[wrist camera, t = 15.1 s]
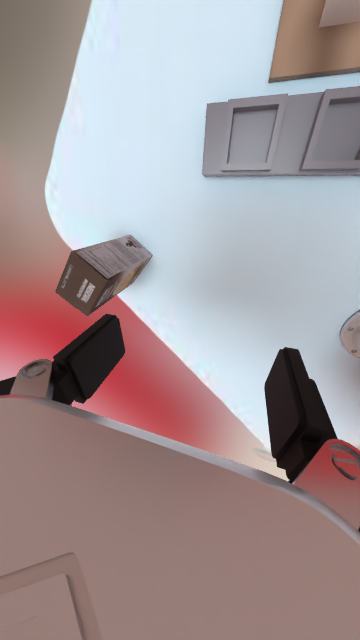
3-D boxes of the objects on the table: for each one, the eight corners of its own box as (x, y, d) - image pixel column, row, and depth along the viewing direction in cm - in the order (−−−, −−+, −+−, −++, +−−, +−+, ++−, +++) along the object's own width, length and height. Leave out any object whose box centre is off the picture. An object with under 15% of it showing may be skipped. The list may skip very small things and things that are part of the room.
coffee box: (133, 283, 43) (86, 318, 30) (111, 265, 42) (54, 293, 29) (153, 254, 38) (107, 282, 25) (129, 232, 37) (68, 249, 24)
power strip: (409, 93, 20) (441, 72, 17) (371, 174, 24) (391, 170, 21) (209, 111, 25) (204, 98, 22) (205, 176, 29) (200, 173, 26)
